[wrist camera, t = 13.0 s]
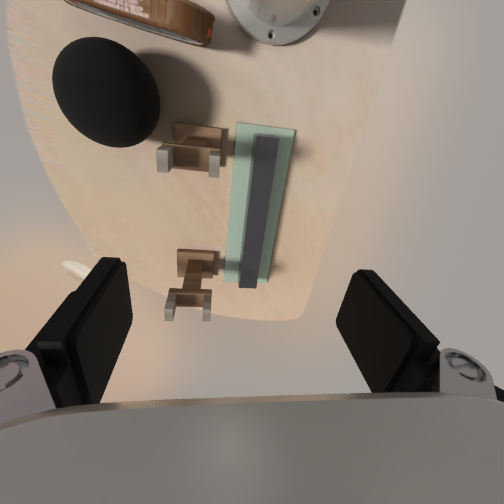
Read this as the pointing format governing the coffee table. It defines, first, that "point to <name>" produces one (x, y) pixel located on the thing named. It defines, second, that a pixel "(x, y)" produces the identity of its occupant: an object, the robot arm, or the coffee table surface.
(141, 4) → the tin
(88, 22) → the coffee table surface
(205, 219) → the coffee table surface
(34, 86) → the coffee table surface
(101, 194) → the coffee table surface
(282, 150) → the mat
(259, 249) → the rail
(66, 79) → the decorative ball
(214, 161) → the rack
